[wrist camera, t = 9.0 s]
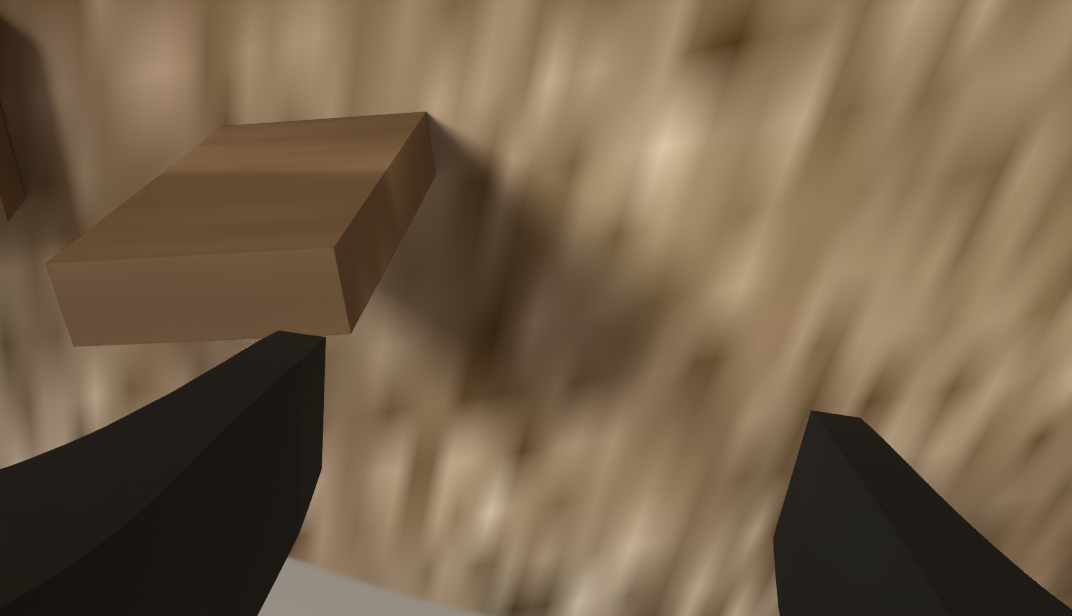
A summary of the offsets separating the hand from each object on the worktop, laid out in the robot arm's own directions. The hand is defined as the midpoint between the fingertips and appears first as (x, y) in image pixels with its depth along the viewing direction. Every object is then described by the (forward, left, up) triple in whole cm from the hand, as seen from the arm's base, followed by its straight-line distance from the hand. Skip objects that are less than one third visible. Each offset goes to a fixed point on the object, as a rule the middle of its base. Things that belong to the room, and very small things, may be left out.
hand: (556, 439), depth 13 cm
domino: (-6, 0, -9) cm, 11 cm away
